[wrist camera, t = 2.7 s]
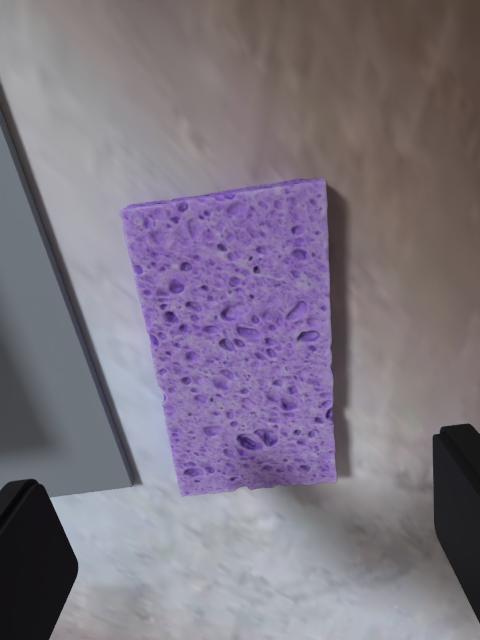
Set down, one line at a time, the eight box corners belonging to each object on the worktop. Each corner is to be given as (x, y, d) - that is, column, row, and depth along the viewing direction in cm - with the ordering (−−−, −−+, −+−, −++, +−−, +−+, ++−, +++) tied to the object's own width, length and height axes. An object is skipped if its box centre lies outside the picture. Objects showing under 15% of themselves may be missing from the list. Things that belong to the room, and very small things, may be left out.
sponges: (185, 467, 19) (178, 497, 17) (129, 198, 15) (112, 203, 13) (331, 456, 19) (339, 486, 17) (320, 175, 14) (329, 176, 12)
